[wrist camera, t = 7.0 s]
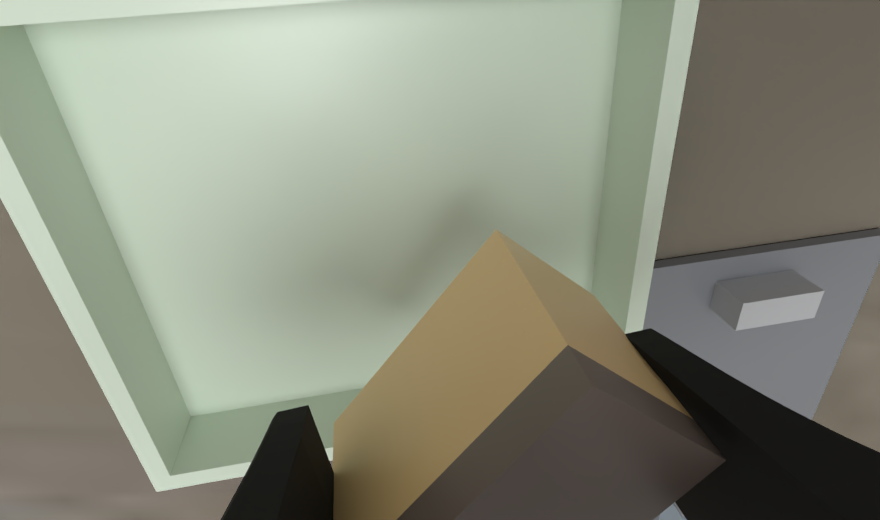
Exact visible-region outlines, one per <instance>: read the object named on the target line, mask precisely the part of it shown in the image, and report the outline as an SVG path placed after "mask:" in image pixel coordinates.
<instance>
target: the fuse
mask: <svg viewBox="0 0 880 520" xmlns="http://www.w3.org/2000/svg"><path fill="white" fill-rule="evenodd" d="M659 520H687V519H686V518H685V516H682V515H681V514H680V512H679V511H678V509H677V507H676V506H675V504H674V503H673V504H672V505H671V506H669V507H668V508H667V509H666V510H664V511H663V512H662V513H661V514H660V517H659Z"/></svg>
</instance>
